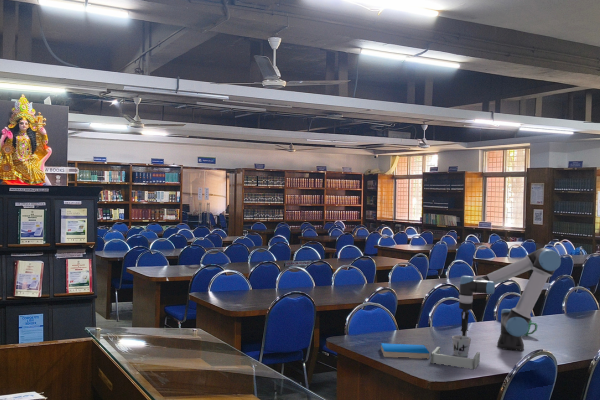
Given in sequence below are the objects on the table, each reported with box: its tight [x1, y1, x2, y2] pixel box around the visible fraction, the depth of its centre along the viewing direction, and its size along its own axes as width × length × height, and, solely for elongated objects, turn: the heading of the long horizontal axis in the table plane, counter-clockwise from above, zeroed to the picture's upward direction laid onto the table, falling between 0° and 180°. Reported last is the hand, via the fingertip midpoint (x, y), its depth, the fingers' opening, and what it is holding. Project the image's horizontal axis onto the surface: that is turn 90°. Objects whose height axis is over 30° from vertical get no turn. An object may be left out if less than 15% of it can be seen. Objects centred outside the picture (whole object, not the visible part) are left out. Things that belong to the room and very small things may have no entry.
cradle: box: [430, 346, 481, 370], centre depth 300 cm, size 23×17×5 cm
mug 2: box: [522, 319, 538, 337], centre depth 369 cm, size 15×10×10 cm
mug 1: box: [451, 334, 472, 358], centre depth 317 cm, size 10×15×10 cm
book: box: [380, 342, 430, 360], centre depth 314 cm, size 17×4×25 cm
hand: (463, 341), depth 328 cm, fingers closed
